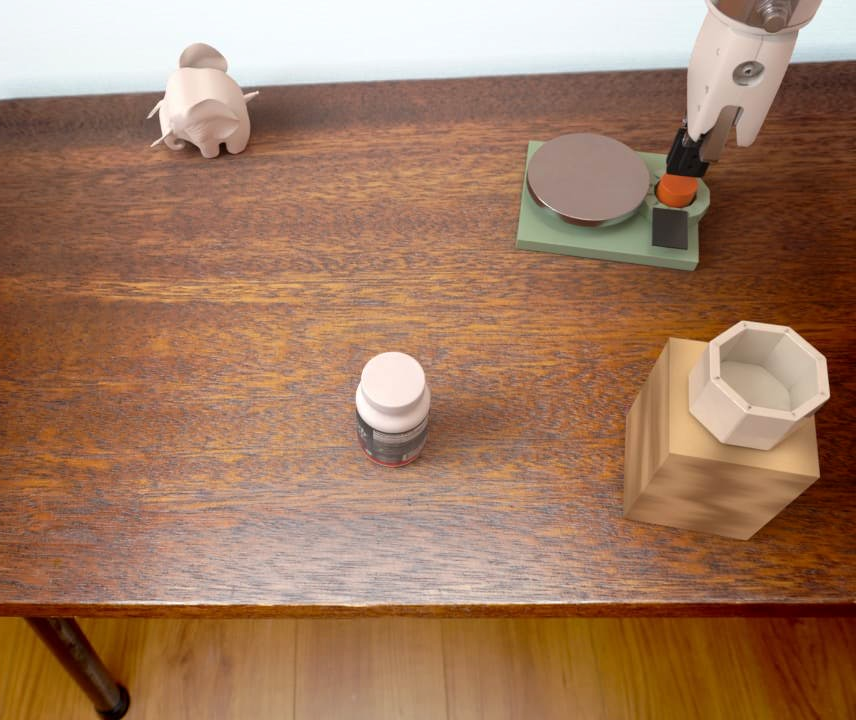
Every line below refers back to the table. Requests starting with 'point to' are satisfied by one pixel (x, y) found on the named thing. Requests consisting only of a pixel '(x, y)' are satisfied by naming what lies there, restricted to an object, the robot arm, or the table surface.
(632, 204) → the scale pan
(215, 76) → the elephant figurine
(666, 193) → the tare button
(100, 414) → the table surface
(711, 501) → the stand
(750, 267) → the table surface
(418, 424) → the pill bottle
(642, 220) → the scale
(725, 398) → the bowl
